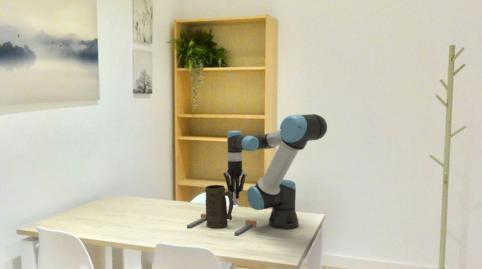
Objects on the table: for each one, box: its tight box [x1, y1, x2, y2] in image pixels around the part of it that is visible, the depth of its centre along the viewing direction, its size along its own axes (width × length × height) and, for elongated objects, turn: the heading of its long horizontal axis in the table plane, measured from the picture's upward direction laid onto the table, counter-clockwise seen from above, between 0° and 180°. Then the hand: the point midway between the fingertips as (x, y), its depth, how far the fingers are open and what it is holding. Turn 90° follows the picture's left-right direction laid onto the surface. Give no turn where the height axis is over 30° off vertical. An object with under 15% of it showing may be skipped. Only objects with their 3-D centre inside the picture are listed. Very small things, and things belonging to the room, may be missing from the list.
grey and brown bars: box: [186, 212, 257, 237], centre depth 221 cm, size 31×18×3 cm, turn 65°
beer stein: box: [204, 184, 234, 229], centre depth 222 cm, size 15×11×20 cm
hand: (235, 204), depth 234 cm, fingers closed
